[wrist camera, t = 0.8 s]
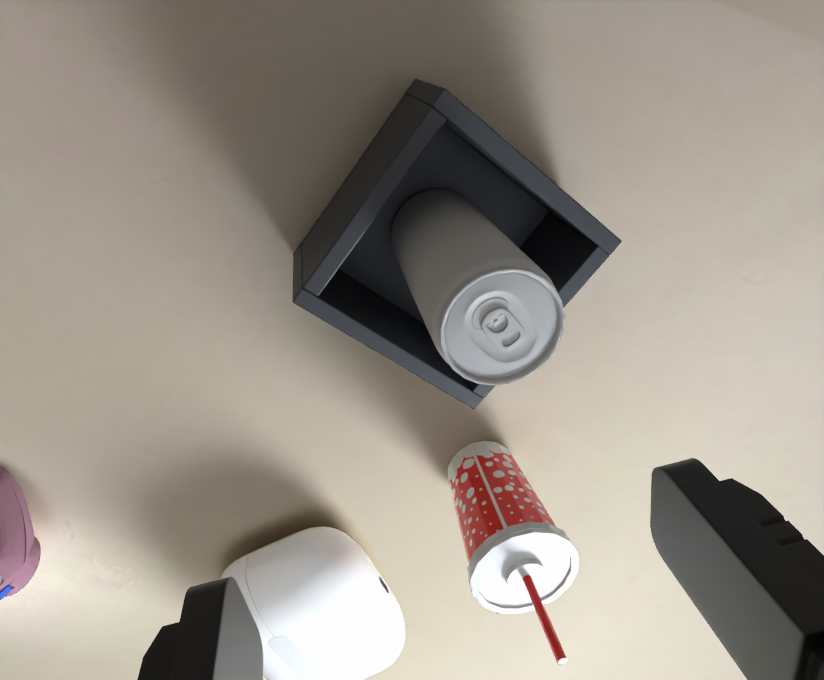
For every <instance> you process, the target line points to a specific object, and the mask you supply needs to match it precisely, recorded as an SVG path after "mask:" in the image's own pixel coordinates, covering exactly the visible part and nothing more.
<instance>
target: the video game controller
mask: <svg viewBox="0 0 824 680" xmlns="http://www.w3.org/2000/svg"><path fill="white" fill-rule="evenodd" d="M40 551H41V549H40V543H39V541H38V540H37V538H36V537H34V532H33V527H32V523H31V518H30V514H29V510H28V507H27V503H26V501H25V498H24V495H23V492H22V490H21V489H20V487H19V485H18V484H17V482H16V481H15V479H14V478H13V476H12V475H11V474H10V473H9V472H7V471H6V470H5V469H4V468H2V467H0V600H1V599H2V598H4V597H6V596H11V595H13V594H15V593H17V592H18V591H20V590H21V589H22V588H23V587H24V586H25V585H26V584H27V583H28V582H29V581H30V579H31V578H32V576H33V575H34V573H35V571H36V569H37V567H38V564H39V560H40Z"/></svg>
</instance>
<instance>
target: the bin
mask: <svg viewBox="0 0 824 680" xmlns="http://www.w3.org/2000/svg"><path fill="white" fill-rule="evenodd" d="M432 189H446V190H451V191H454V192H456V193H458V194H460V195H462V196H464V197H465V198H466V199H467V200H468V201H469V202H470V203H471V204H472V205H474V206H475V207H476V208H477V209H478V210H479V211H480V212H481V213H482V214H483V215H484V216H485V217H486V218H487V219H488V220H489V221H491V222H492V223H493V224H494V225H495V226H496V227H497V228H498V229H499V230H500V231H501V232H502V233H503V234H504V235H505V236H506V237H508V238H509V239H510V240H511V241H512V242H513V243H514V244H515V245H516V246H517V247H518V248H519V249H520V250H521V251H522V252H523V253H525V254H526V255H527V256H528V257H529V258H530V259H531V260H532V261H533V262H534V263H535V264H536V265H537V266H538V267H539V268H540V269H541V270H543V271H544V272H545V273H546V274H547V275H548V276H549V277H550V279H551V281H552V283H553V285H554V286H555V288H556V290H557V293H558V294H559V296H560V298H561V300H562V304H563V308H564V307H565V306H566V305H567V303H568V302H569V301H570V300H571V299H572V298H573V297H574V295H575V294H576V293H577V292H578V291H579V290H580V289H581V287H582V286H583V285H584V284H585V283H586V282H587V281H588V279H589V278H590V277H591V276H592V275H593V274H594V273H595V271H596V270H597V269H598V268H599V267H600V266H601V265H602V263H603V262H604V261H605V260H606V259H607V258H608V257H609V255H610V254H611V253H612V252H613V251H614V250H615V249H616V247H617V246H618V245H619V244H620V243H621V240H620V239H619V238H618V237H617V236H615V235H614V234H613V233H612V232H611V231H610V230H608V229H607V228H606V227H605V226H604V225H603V224H602V223H600V222H599V221H598V220H597V219H596V218H595V217H593V216H592V215H591V214H590V213H589V212H588V211H587V210H585V209H584V208H583V207H582V206H581V205H580V204H578V203H577V202H576V201H575V200H574V199H573V198H571V197H570V196H569V195H568V194H567V193H566V192H565V191H563V190H562V189H561V188H560V187H559V186H558V185H556V184H555V183H554V182H553V181H552V180H551V179H550V178H548V177H547V176H546V175H545V174H544V173H543V172H541V171H540V170H539V169H538V168H537V167H536V166H535V165H533V164H532V163H531V162H530V161H529V160H528V159H526V158H525V157H524V156H523V155H522V154H521V153H519V152H518V151H517V150H516V149H515V148H514V147H513V146H511V145H510V144H509V143H508V142H507V141H506V140H504V139H503V138H502V137H501V136H500V135H499V134H498V133H496V132H495V131H494V130H493V129H492V128H491V127H489V126H488V125H487V124H486V123H485V122H484V121H482V120H481V119H480V118H479V117H478V116H477V115H476V114H474V113H473V112H472V111H471V110H470V109H469V108H467V107H466V106H465V105H464V104H463V103H462V102H461V101H459V100H458V99H457V98H456V97H455V96H454V95H452V94H451V93H450V92H449V91H448V90H447V89H445V88H442V87H439V86H436V85H433V84H430V83H427V82H424V81H421V80H418V79H415V80H414V81H413V83H412V84H411V86H410V87H409V88H408V90H407V91H406V93H405V94H404V96H403V97H402V99H401V100H400V101H399V103H398V104H397V106H396V107H395V109H394V110H393V111H392V113H391V114H390V116H389V117H388V119H387V120H386V122H385V123H384V124H383V126H382V127H381V129H380V130H379V132H378V133H377V135H376V136H375V137H374V139H373V140H372V142H371V143H370V145H369V146H368V147H367V149H366V150H365V152H364V153H363V155H362V156H361V158H360V159H359V160H358V162H357V163H356V165H355V166H354V168H353V169H352V171H351V172H350V173H349V175H348V176H347V178H346V179H345V181H344V182H343V183H342V185H341V186H340V188H339V189H338V191H337V192H336V194H335V195H334V196H333V198H332V199H331V201H330V202H329V204H328V205H327V207H326V208H325V209H324V211H323V212H322V214H321V215H320V217H319V218H318V219H317V221H316V222H315V224H314V225H313V227H312V228H311V230H310V231H309V232H308V234H307V235H306V237H305V238H304V240H303V241H302V243H301V244H300V245H299V247H298V248H297V250H296V251H295V253H294V254H293V257H294V260H293V303H295V304H297V305H298V306H300V307H302V308H303V309H305V310H307V311H309V312H310V313H312V314H314V315H315V316H317V317H319V318H320V319H322V320H324V321H325V322H327V323H329V324H330V325H332V326H334V327H336V328H337V329H339V330H341V331H342V332H344V333H346V334H347V335H349V336H351V337H352V338H354V339H356V340H357V341H359V342H361V343H363V344H364V345H366V346H368V347H369V348H371V349H373V350H374V351H376V352H378V353H379V354H381V355H383V356H384V357H386V358H388V359H390V360H391V361H393V362H395V363H396V364H398V365H400V366H401V367H403V368H405V369H406V370H408V371H410V372H412V373H413V374H415V375H417V376H418V377H420V378H422V379H423V380H425V381H427V382H428V383H430V384H432V385H433V386H435V387H437V388H439V389H440V390H442V391H444V392H445V393H447V394H449V395H450V396H452V397H454V398H455V399H457V400H459V401H460V402H462V403H464V404H466V405H467V406H469V407H471V408H472V409H475V408H476V407H477V406H478V405H479V403H480V402H481V401H482V400H483V398H485V397H486V396H487V395H488V393H489V392H490V391H491V390H492V389H493V388H494V387H495V385H485V384H477V383H475V382H472V381H470V380H467V379H465V378H463V377H462V376H461V375H459V374H458V373H457V372H455V371H454V370H453V369H452V368H451V366H450V365H449V364H448V363H446V362H445V360H444V359H443V358H442V356H441V355H440V353H439V352H438V350H437V349H436V347H435V345H434V343H433V340H432V338H431V336H430V334H429V331H428V329H427V327H426V325H425V322H424V320H423V318H422V316H421V313H420V311H419V309H418V307H417V304H416V302H415V300H414V298H413V295H412V293H411V291H410V289H409V286H408V284H407V282H406V280H405V278H404V275H403V273H402V271H401V269H400V266H399V264H398V262H397V260H396V257H395V255H394V252H393V249H392V246H391V229H392V225H393V221H394V219H395V217H396V215H397V213H398V211H399V210H400V208H401V207H402V206H403V205H404V204H405V203H406V202H407V201H408V200H409V199H411V198H412V197H414V196H415V195H417V194H419V193H421V192H424V191H427V190H432Z"/></svg>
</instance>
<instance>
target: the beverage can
mask: <svg viewBox="0 0 824 680" xmlns="http://www.w3.org/2000/svg"><path fill="white" fill-rule="evenodd" d="M391 246H392V249H393V252H394V255H395V257H396V260H397V262H398V264H399V266H400V269H401V271H402V273H403V275H404V278H405V280H406V282H407V284H408V286H409V289H410V291H411V293H412V295H413V298H414V300H415V302H416V304H417V307H418V309H419V311H420V313H421V316H422V318H423V320H424V322H425V325H426V327H427V329H428V331H429V334H430V336H431V338H432V340H433V343H434V345H435V347H436V349H437V350H438V352H439V353H440V355H441V356H442V358H443V359H444V360H445V362H446V363H448V364H449V365H450V366H451V368H452V369H453V370H454V371H455V372H457V373H458V374H459V375H461V376H462V377H463V378H465V379H467V380H470V381H472V382H475V383H477V384H485V385H501V384H509V383H512V382H514V381H517V380H520V379H523V378H525V377H526V376H528V375H530V374H531V373H533V372H535V371H536V370H538V369H539V368H540V367H541V366H542V365H543V364H544V363H545V362H546V361H547V360H548V359H549V358H550V357H551V355H552V354H553V352H554V351H555V349H556V348H557V346H558V344H559V341H560V338H561V336H562V333H563V329H564V319H565V314H564V309H563V304H562V300H561V298H560V296H559V294H558V293H557V290H556V288H555V286H554V285H553V283H552V281H551V279H550V277H549V276H548V275H547V274H546V273H545V272H544V271H543V270H541V269H540V268H539V267H538V266H537V265H536V264H535V263H534V262H533V261H532V260H531V259H530V258H529V257H528V256H527V255H526V254H525V253H523V252H522V251H521V250H520V249H519V248H518V247H517V246H516V245H515V244H514V243H513V242H512V241H511V240H510V239H509V238H508V237H506V236H505V235H504V234H503V233H502V232H501V231H500V230H499V229H498V228H497V227H496V226H495V225H494V224H493V223H492V222H491V221H489V220H488V219H487V218H486V217H485V216H484V215H483V214H482V213H481V212H480V211H479V210H478V209H477V208H476V207H475V206H474V205H472V204H471V203H470V202H469V201H468V200H467V199H466V198H465V197H464V196H462V195H460V194H458V193H456V192H454V191H451V190H446V189H432V190H427V191H424V192H421V193H419V194H417V195H415V196H414V197H412V198H411V199H409V200H408V201H407V202H406V203H405V204H404V205H403V206H402V207H401V208H400V210H399V211H398V213H397V215H396V217H395V219H394V221H393V225H392V229H391Z"/></svg>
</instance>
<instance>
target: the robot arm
mask: <svg viewBox="0 0 824 680" xmlns="http://www.w3.org/2000/svg"><path fill="white" fill-rule="evenodd" d="M650 526H651V532H652V536H653V540H654V543H655V545H656V548H657V550H658V552H659V554H660V555H661V557H662V559H663V560H664V562H665V563H666V564H667V566H668V567H669V569H670V570H671V571H672V573H673V574H674V576H675V577H676V579H677V580H678V581H679V583H680V584H681V586H682V587H683V589H684V590H685V591H686V593H687V594H688V596H689V597H690V598H691V600H692V601H693V603H694V604H695V606H696V607H697V608H698V610H699V611H700V613H701V614H702V616H703V617H704V618H705V620H706V621H707V623H708V624H709V626H710V627H711V628H712V630H713V631H714V633H715V634H716V635H717V637H718V638H719V640H720V641H721V643H722V644H723V645H724V647H725V648H726V650H727V651H728V653H729V654H730V655H731V657H732V658H733V660H734V661H735V662H736V664H737V665H738V667H739V668H740V670H741V671H742V672H743V674H744V675H745V677H746V678H747V680H824V555H823V554H821V553H820V552H819V551H818V550H817V549H816V548H815V547H814V546H813V545H812V544H811V543H810V542H809V541H808V540H804V538H803V537H802V534H801V533H800V532H799V531H798V530H797V529H796V528H795V527H794V526H793V525H792V524H791V523H790V522H789V521H785V520H784V516H783V515H782V514H781V513H780V512H779V511H778V510H777V509H776V508H775V507H773V506H772V505H771V504H770V503H769V502H768V501H767V500H766V499H765V498H764V497H763V496H762V495H761V494H759V493H758V492H756V491H754V490H752V489H750V488H748V487H747V486H745V485H743V484H741V483H739V482H737V481H736V480H734V479H732V478H731V479H727V480H723V481H719V480H718V479H717V478H716V477H715V476H714V475H713V474H712V473H711V472H710V471H709V470H708V469H707V468H706V467H705V466H704V465H703V464H702V463H701V462H700V461H699V460H697V459H694V458H692V459H688V460H684V461H680V462H676V463H672V464H668V465H664V466H661V467H657V468H655V469H654V470H653V472H652V484H651V519H650ZM138 680H263V648H262V641H261V637H260V633H259V630H258V627H257V625H256V623H255V621H254V618H253V616H252V614H251V612H250V610H249V608H248V606H247V603H246V601H245V599H244V597H243V595H242V593H241V591H240V588H239V586H238V584H237V582H236V580H235V579H234V578H233V577H227V578H223V579H220V580H216V581H212V582H208V583H204V584H200V585H196V586H193V587H190V588H189V589H188V590H187V592H186V595H185V599H184V604H183V608H182V613H181V618H180V622H178V623H174V624H170V625H167V626H163V627H162V628H161V630H160V631H159V633H158V634H157V636H156V638H155V639H154V641H153V642H152V644H151V646H150V647H149V649H148V651H147V652H146V654H145V655H144V657H143V661H142V664H141V668H140V672H139V676H138Z"/></svg>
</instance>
